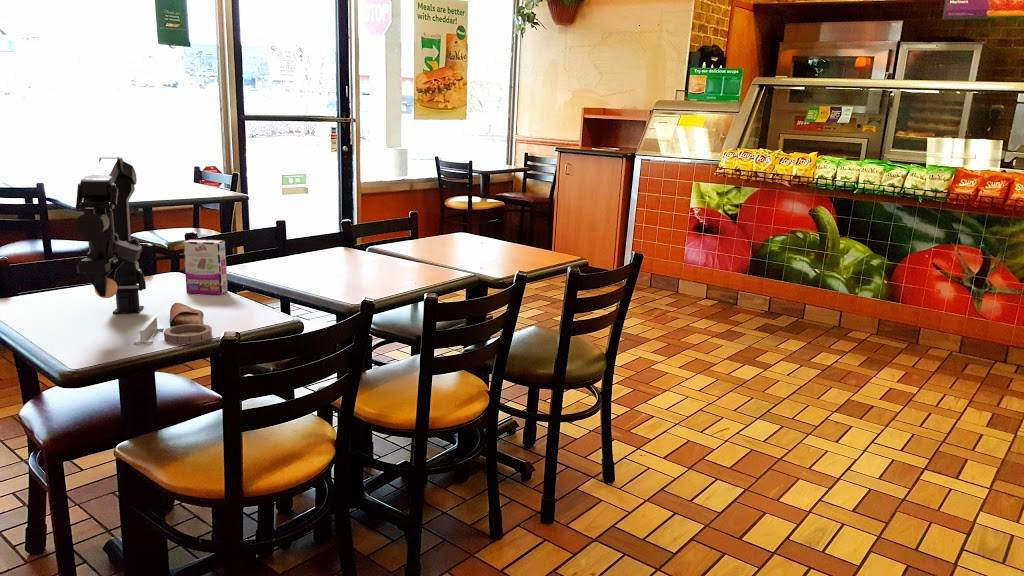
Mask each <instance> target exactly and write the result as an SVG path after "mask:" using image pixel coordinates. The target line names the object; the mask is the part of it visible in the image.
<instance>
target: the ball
mask: <svg viewBox="0 0 1024 576" xmlns="http://www.w3.org/2000/svg"><path fill="white" fill-rule="evenodd" d="M93 287H94V286H93ZM93 289H94V292H95V294H96V295H97V296H98V297H99V298H102V299H110V298H112V297H113V296H116V295H115V294H116V292H117V284H116V282H115V281H114V280H112V279H110V278H107V287H106V296H105V297H101V296H100V295H99V294H98V292H97V291H96V289H95V287H94V288H93Z"/></svg>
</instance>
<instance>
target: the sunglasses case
mask: <svg viewBox="0 0 1024 576" xmlns="http://www.w3.org/2000/svg"><path fill="white" fill-rule="evenodd" d="M203 314H204V312H203V310H200V309H196V308H192V307H191V306H189V305H186V304H184V303H180V302H175V303H173V304H172V305H171V306H170V309H169V328H170V327H173V326H176V325H183V324H204V322H203Z"/></svg>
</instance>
